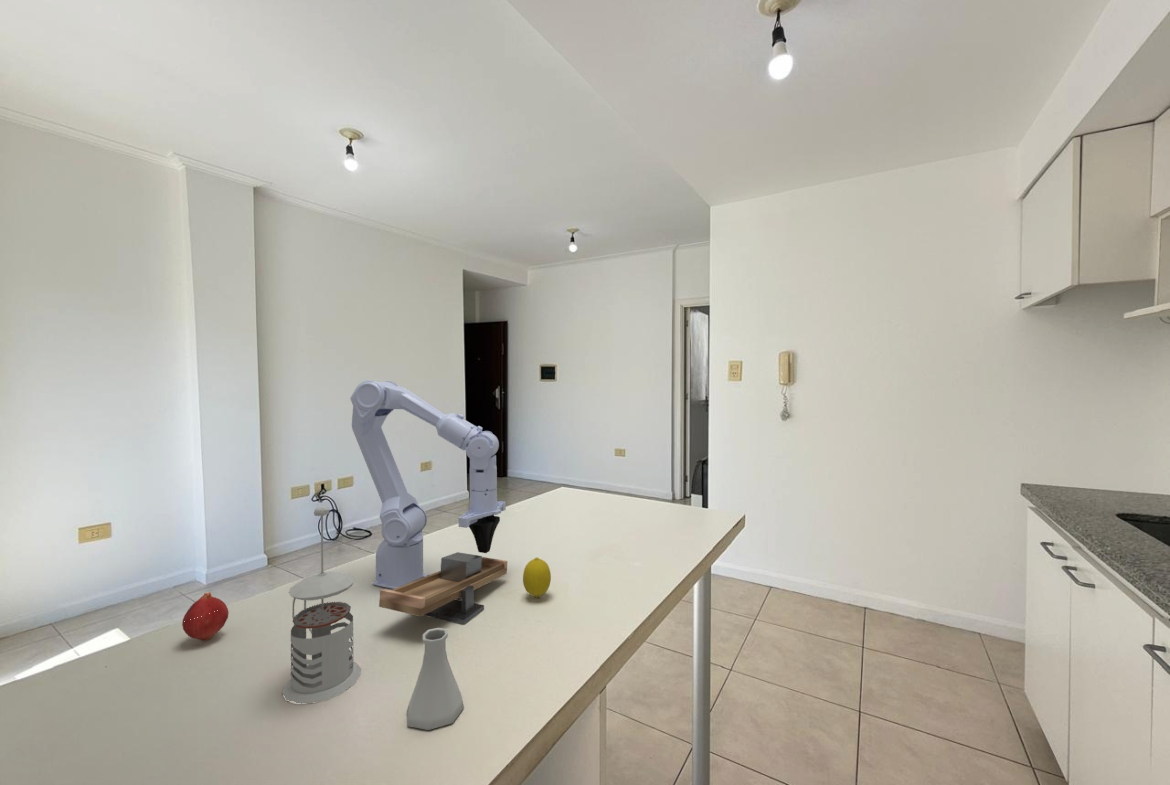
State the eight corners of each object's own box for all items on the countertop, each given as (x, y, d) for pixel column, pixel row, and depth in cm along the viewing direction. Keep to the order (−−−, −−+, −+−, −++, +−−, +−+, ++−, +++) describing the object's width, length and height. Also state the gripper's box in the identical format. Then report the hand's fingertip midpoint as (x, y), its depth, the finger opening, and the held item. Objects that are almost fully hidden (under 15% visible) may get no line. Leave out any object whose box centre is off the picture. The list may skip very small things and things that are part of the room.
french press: (304, 714, 58) (302, 519, 58) (262, 684, 64) (260, 507, 64) (375, 673, 66) (374, 503, 66) (332, 649, 72) (330, 493, 72)
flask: (414, 694, 61) (414, 621, 61) (468, 690, 62) (468, 618, 62) (397, 734, 54) (396, 651, 54) (458, 730, 55) (458, 648, 55)
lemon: (546, 605, 87) (546, 563, 87) (519, 602, 88) (518, 561, 88) (554, 592, 92) (553, 553, 92) (528, 590, 93) (528, 551, 93)
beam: (377, 610, 77) (379, 590, 77) (471, 570, 100) (472, 555, 101) (421, 620, 73) (422, 599, 73) (507, 576, 97) (508, 561, 97)
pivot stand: (403, 610, 85) (402, 584, 85) (425, 597, 90) (425, 572, 90) (464, 624, 80) (463, 596, 80) (484, 609, 85) (483, 583, 85)
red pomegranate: (177, 654, 71) (177, 603, 71) (189, 636, 76) (188, 589, 76) (223, 644, 74) (223, 595, 74) (232, 627, 79) (231, 582, 79)
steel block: (440, 578, 89) (441, 557, 89) (456, 572, 93) (457, 552, 94) (465, 583, 86) (466, 562, 87) (480, 576, 91) (481, 556, 91)
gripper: (478, 497, 89) (479, 566, 89) (517, 483, 102) (517, 543, 102) (449, 494, 91) (450, 561, 91) (490, 481, 105) (491, 539, 105)
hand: (484, 551), depth 97 cm, fingers closed
